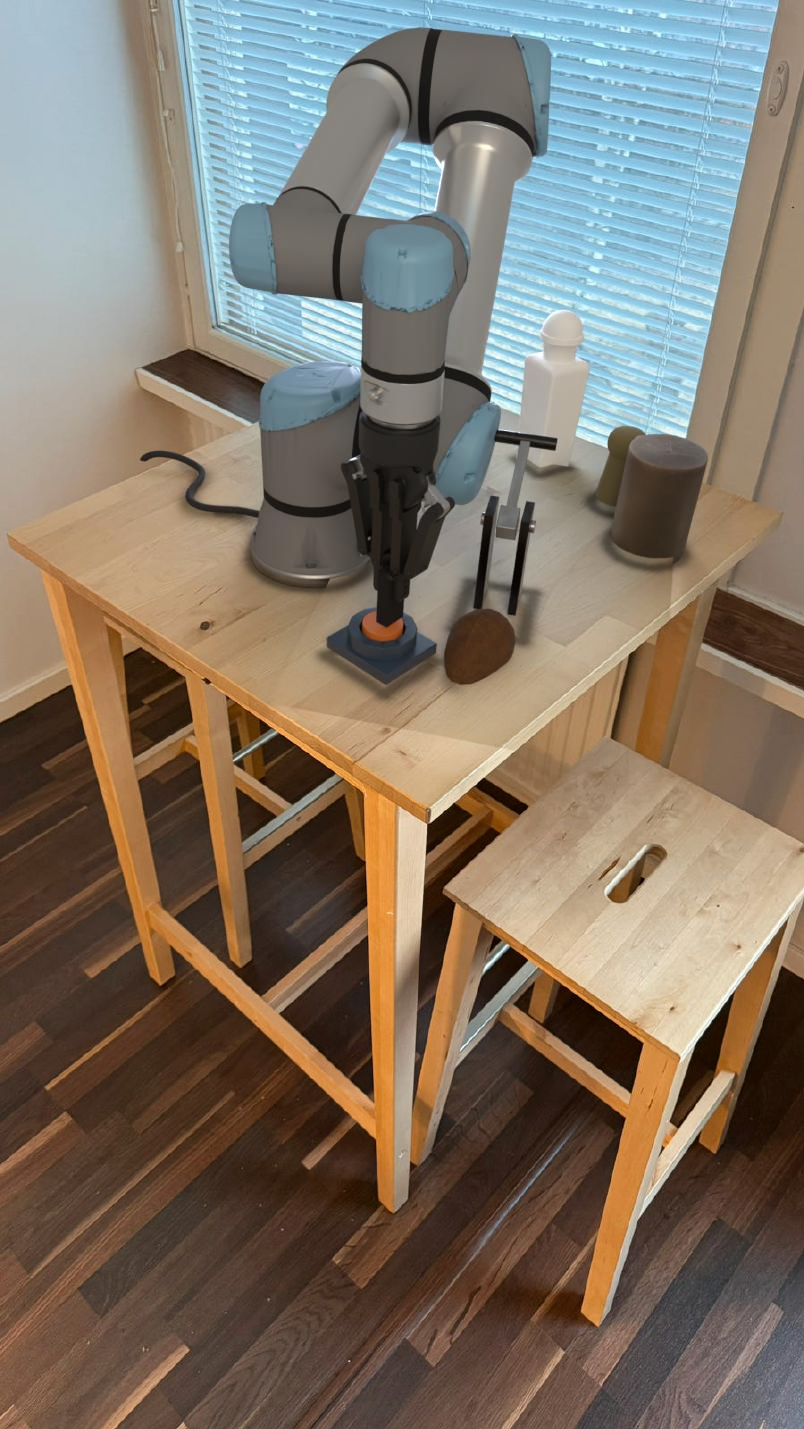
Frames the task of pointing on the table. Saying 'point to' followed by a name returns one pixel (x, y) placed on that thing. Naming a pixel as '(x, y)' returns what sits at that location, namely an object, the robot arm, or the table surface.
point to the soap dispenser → (554, 388)
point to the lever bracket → (487, 548)
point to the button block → (382, 648)
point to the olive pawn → (615, 463)
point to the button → (381, 629)
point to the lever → (517, 477)
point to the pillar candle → (658, 495)
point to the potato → (478, 646)
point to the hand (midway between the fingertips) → (389, 619)
